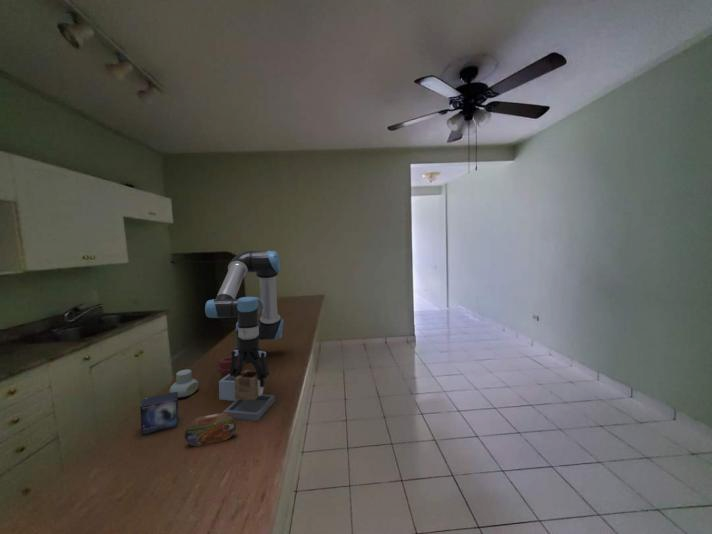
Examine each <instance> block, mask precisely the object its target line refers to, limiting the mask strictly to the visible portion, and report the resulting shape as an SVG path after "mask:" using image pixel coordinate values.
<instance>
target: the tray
mask: <svg viewBox="0 0 712 534" xmlns="http://www.w3.org/2000/svg"><path fill="white" fill-rule="evenodd" d="M275 402H276V395H275V394H264V393H262V394H261V395H260V396H258V397H257V398H256V399H255V400H244V399H237V400H235V401H233V402H232V403H231V404H230V405H229V406H227V408H226V409H224V410H223V412H222V413H230V414H232V415H233V416H234V417H235V419H236V420H239V421H240V420H241V421H252V422H260V420H261V419H262V417H263V416H265V414H266V412H267V411H269V409H270V408H271V407H272V405H273V404H274V403H275Z"/></svg>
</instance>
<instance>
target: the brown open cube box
mask: <svg viewBox="0 0 712 534" xmlns="http://www.w3.org/2000/svg"><path fill="white" fill-rule="evenodd" d="M258 379H259V376H258V374H257V372H256V369H245V370H243V371H241V374H240V375H238V376H237V377H236V378H235V399H244V400H255V399H256V398H257V397H258ZM265 386H266V385H264V386H263V392H264V391H265V389H266V388H265Z"/></svg>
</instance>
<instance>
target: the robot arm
mask: <svg viewBox="0 0 712 534" xmlns="http://www.w3.org/2000/svg"><path fill="white" fill-rule="evenodd" d="M281 266H282V265H281V259H280V255H279V253H278V252H277V251H276V250H247V251H243V252H241V253H239V254H237V255H235V256H234V257H233V259H232V260H230V262H229V263H228V265H227V270H228V271H227V273H226V275H225V278H224V279H223V282H222V284H221V286H220V288H219V290H218V292H217V295H216V297H215V299H214V298H213V299H209V300H207V301H205V302H206V303H205V307H204V312H205V316H206V317H207V318H209V319H210V318H211V319H222V318H237V322H235V323H236V324H235V349H234V350H233V351H231V356H232V362H231V369H230V376H234V377H235V378H236V377H237V376H238V375H240V374H241V373H242V372H243V368H244V366H245V364H246V363H251V364H252V365H253V367H254V370H256V372H257V374H258V376H259V379H258V396H260V395H261V394H264V391H263V386H264V385H265V384H266V380H265V379H266V378H268V376H270V369H269V364H268V360H267V353H268V352H267V351H266V350H264V351H262V350H261V349H260V341H266V340H267V341H269V340H279V339H280V340H281V338H282V335H283V327H284V319H283V318H281V316H280V314H278V313H279V311H278V296H277V282H276V281H277V280H276V278H277V277H278V276H279V273H280V272H281V269H282V268H281ZM249 273H255V275H256V278H258V279H259V289H260V290H259V291H260V298H259V297H257V296H243V297H240V298H236V297H237V295H238V292H239V290H240V287H241V284H242V283H243V279H244V277H245V276H246V275H247V274H249ZM261 313H262V314H261ZM260 314H261V316H260V318H259V315H260ZM237 362H238V363H239V365H238V367H237ZM236 369H237V370H236ZM265 386H266V385H265Z"/></svg>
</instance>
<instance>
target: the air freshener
mask: <svg viewBox="0 0 712 534" xmlns="http://www.w3.org/2000/svg"><path fill="white" fill-rule="evenodd" d="M199 384H200V383H199V381H198V380H197V379H195V378H193V375H192V370H191V369H188V368H187V369H183V370H179V371H178V372H176V373H175V382H174V383H173V384H172V385H171V386H170V388H169V393H173V392H178V398H185V397H189V396H191V395H192V394H194V393H196V391H197V390H198V389H199V386H200V385H199Z"/></svg>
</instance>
